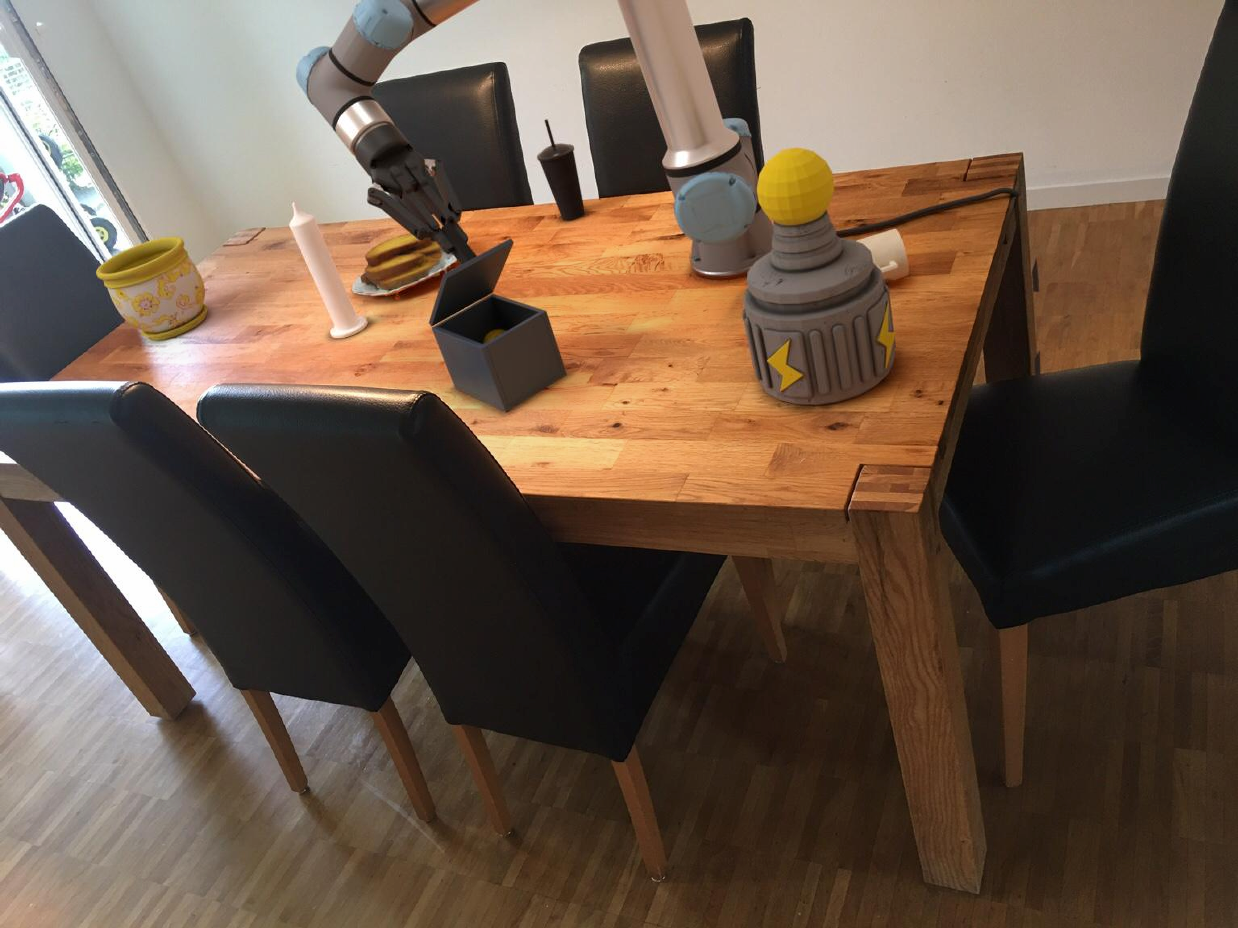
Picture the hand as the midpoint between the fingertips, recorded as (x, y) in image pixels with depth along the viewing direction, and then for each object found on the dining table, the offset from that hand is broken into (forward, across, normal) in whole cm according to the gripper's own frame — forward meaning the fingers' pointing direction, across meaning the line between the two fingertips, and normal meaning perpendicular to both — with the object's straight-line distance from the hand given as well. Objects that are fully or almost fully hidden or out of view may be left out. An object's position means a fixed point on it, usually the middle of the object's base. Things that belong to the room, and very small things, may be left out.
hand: (472, 264), depth 144 cm
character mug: (+30, -40, +6) cm, 50 cm away
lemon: (+12, 0, -13) cm, 18 cm away
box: (+13, 0, -15) cm, 20 cm away
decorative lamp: (+43, -24, +15) cm, 51 cm away
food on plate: (-28, -16, -57) cm, 66 cm away
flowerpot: (-55, +23, -84) cm, 103 cm away
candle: (-22, +4, -50) cm, 55 cm away
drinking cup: (-20, -48, -48) cm, 71 cm away
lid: (+1, 0, -5) cm, 5 cm away
